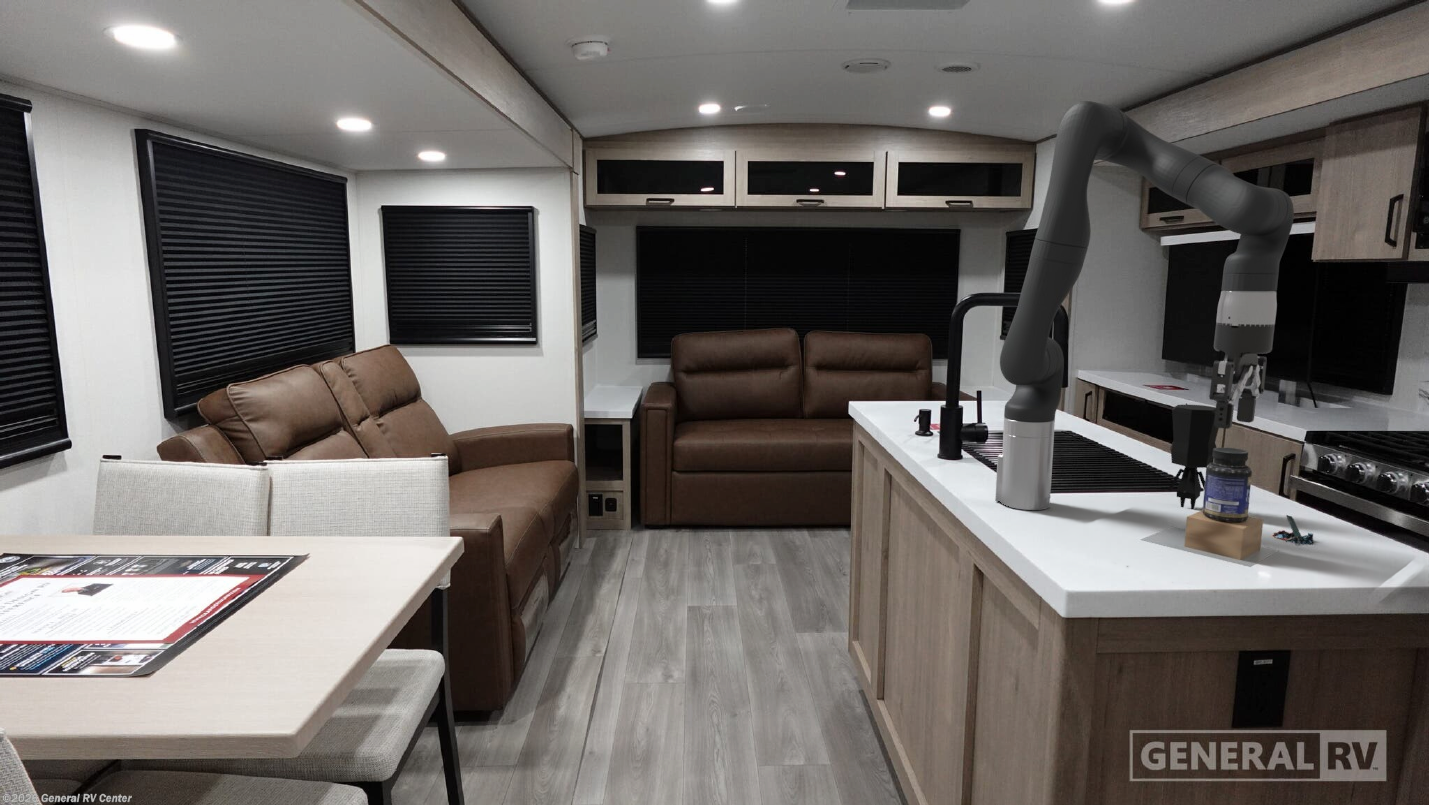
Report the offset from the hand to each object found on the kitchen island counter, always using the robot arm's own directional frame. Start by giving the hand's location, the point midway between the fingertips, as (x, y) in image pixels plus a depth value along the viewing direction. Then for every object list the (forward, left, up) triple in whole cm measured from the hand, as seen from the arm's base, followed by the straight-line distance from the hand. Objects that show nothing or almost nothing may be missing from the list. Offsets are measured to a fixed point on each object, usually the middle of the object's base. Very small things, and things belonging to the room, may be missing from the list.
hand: (1233, 424), depth 124 cm
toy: (-15, +24, -22) cm, 36 cm away
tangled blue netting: (+5, +14, -22) cm, 27 cm away
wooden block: (0, 0, -20) cm, 20 cm away
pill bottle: (0, 0, -15) cm, 15 cm away
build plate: (-2, 0, -21) cm, 21 cm away
